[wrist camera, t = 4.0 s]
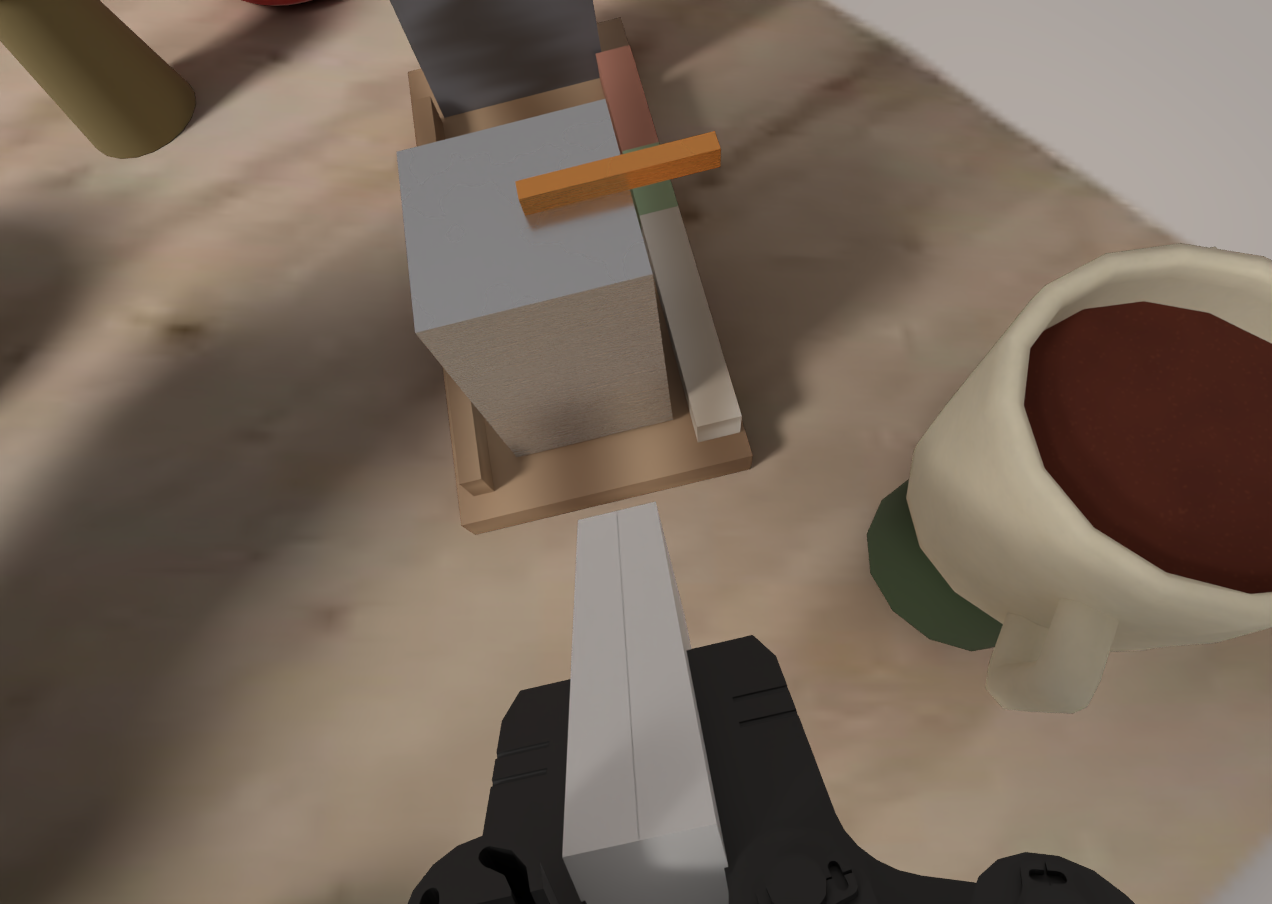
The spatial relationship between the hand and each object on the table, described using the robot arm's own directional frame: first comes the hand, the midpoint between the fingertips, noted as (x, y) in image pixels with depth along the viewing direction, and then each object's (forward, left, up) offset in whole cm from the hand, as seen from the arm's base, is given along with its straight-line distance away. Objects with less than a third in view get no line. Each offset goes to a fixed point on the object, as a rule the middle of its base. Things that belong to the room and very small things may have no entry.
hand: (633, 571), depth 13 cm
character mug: (+10, 0, -12) cm, 16 cm away
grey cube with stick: (0, +11, -10) cm, 15 cm away
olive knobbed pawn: (-22, +33, -12) cm, 42 cm away
